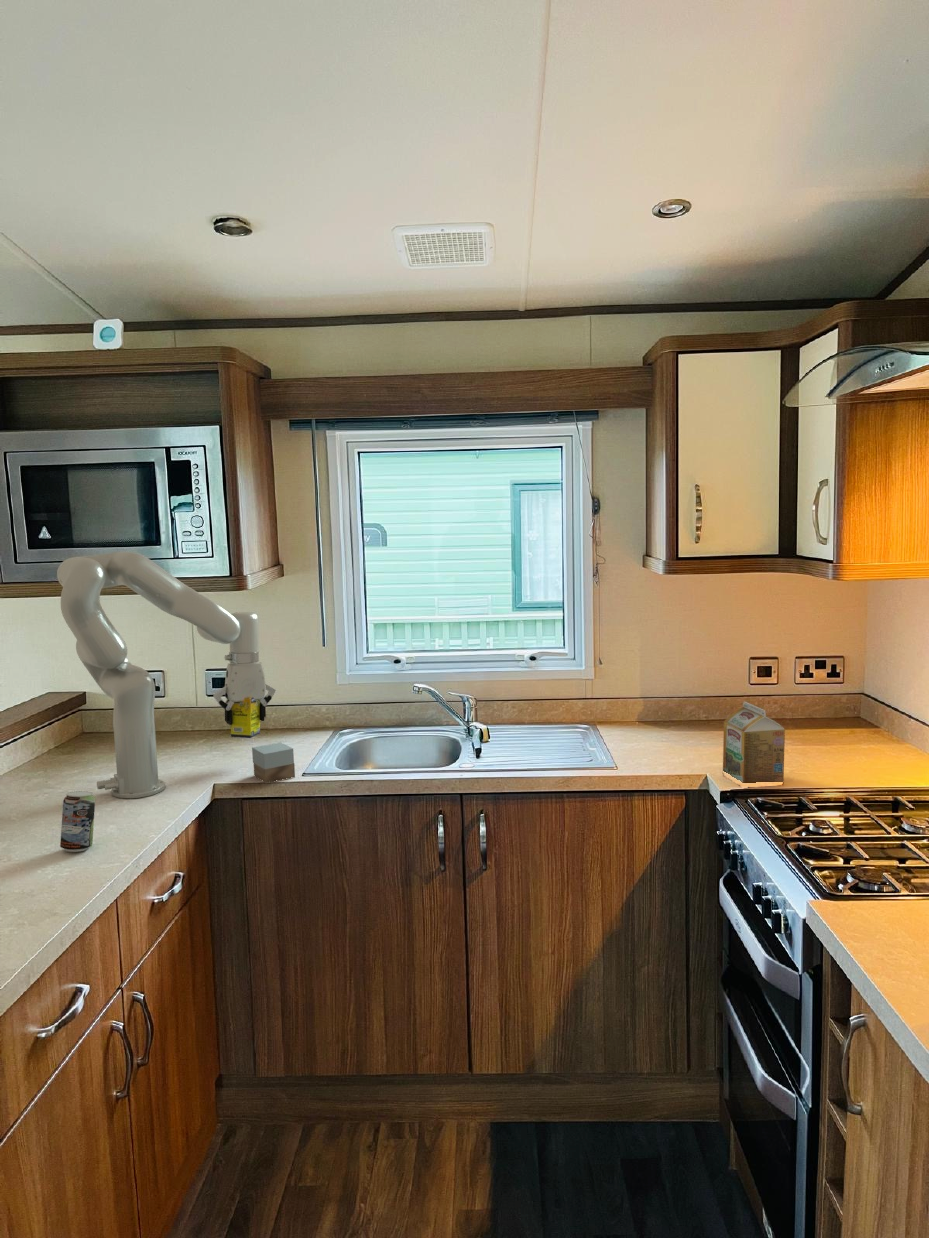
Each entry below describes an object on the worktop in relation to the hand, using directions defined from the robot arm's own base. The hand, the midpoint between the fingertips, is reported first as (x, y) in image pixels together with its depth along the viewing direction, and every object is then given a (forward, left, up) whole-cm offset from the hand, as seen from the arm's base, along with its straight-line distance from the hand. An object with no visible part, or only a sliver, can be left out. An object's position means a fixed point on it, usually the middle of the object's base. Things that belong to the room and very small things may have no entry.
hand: (245, 721), depth 229 cm
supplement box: (0, 0, -4) cm, 4 cm away
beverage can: (-48, -35, -13) cm, 61 cm away
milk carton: (+98, -89, -13) cm, 133 cm away
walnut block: (+3, -12, -13) cm, 18 cm away
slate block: (+3, -13, -9) cm, 16 cm away
